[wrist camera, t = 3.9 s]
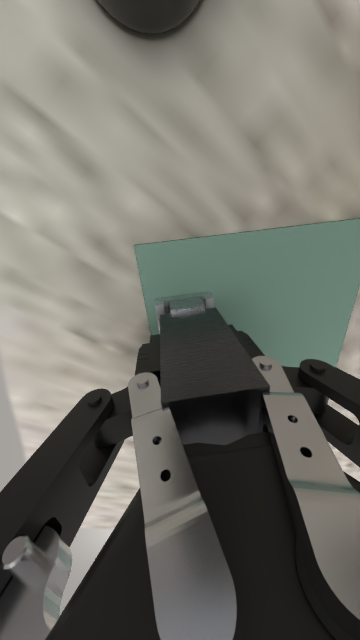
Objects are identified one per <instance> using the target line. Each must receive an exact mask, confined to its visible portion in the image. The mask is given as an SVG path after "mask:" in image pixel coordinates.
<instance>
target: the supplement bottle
mask: <svg viewBox="0 0 360 640" xmlns="http://www.w3.org/2000/svg"><path fill="white" fill-rule="evenodd" d="M98 1H99V3H100V4H101V5H102V6H103V7H104V9H105V10H106V11H107V12H108V13H109V14H110V15H111V16H113V17H114V18H115V19H116V20H117V21H119V22H120V23H122V24H123V25H125V26H127V27H129V28H131V29H133V30H135V31H138V32H142V33H150V34H154V33H161V32H165V31H168V30H170V29H172V28H174V27H176V26H177V25H179V24H180V23H181V22H183V21H184V20H185V19H186V18H187V17H188V16H189V15H190V14H191V13H192V11H193V10H194V9H195V7H196V6H197V4H198V3H199V1H200V0H98Z"/></svg>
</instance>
